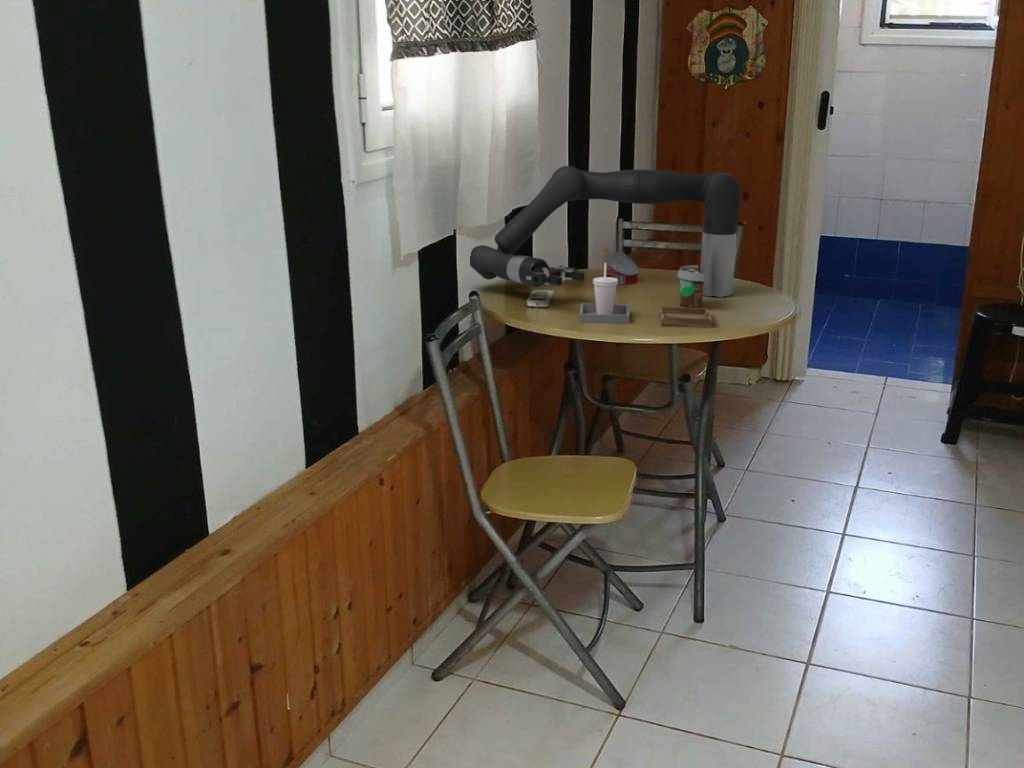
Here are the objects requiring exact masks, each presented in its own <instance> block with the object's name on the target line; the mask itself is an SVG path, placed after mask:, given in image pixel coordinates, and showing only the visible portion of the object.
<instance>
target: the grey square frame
mask: <svg viewBox="0 0 1024 768" xmlns="http://www.w3.org/2000/svg"><path fill="white" fill-rule="evenodd" d="M629 306H630V305H629V304H625V303H623V304H622V303H620V304H619V303H618V304H617V303H614V306H613V312H612V314H597V311H596V303H584V302H583V303H580V310H579V323H598V324H600V323H601V324H602V323H603V324H604V323H607V324H630V310H629V309H630V308H629ZM584 312H588V313H584ZM589 312H591V313H589ZM592 312H594V313H592ZM613 313H624V314H613Z"/></svg>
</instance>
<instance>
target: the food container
mask: <svg viewBox="0 0 1024 768" xmlns="http://www.w3.org/2000/svg"><path fill="white" fill-rule="evenodd" d="M676 276H677V278H679V307H681V306H682V307H684V308H703V296H704V295H703V284H704V273H701V271H700V270H699V264H691V265H690V264H689V265H683V266H680V267H679V269H678V271H677V275H676ZM682 307H681V308H682Z"/></svg>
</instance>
